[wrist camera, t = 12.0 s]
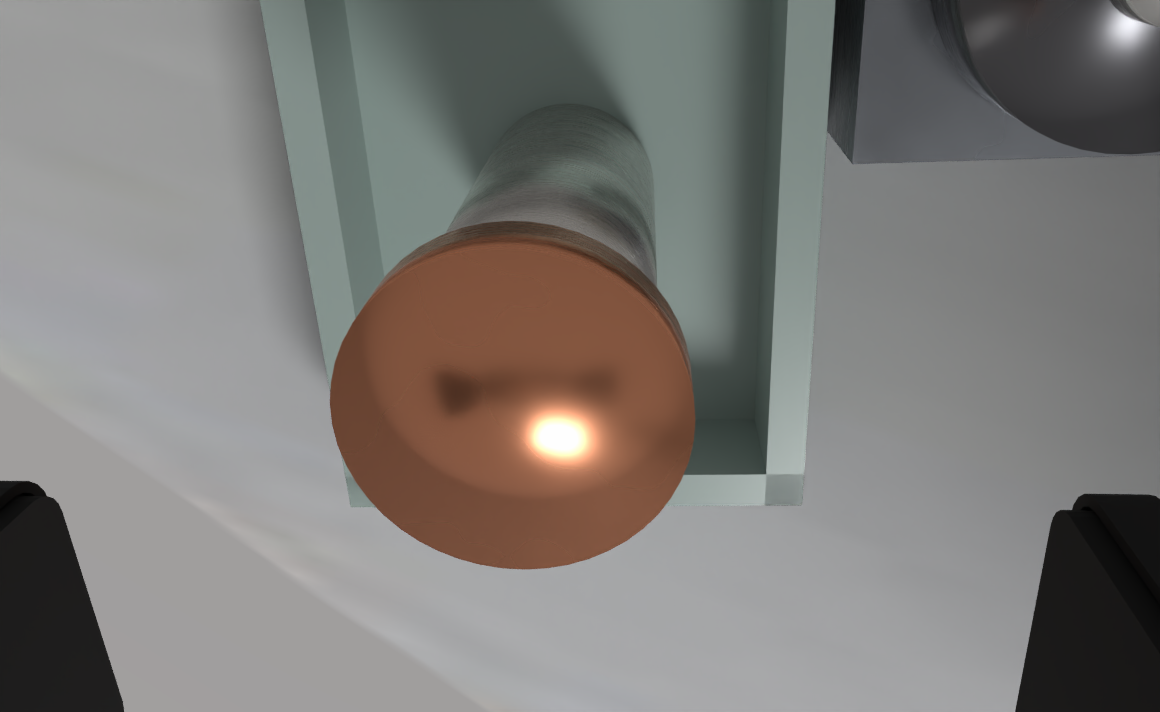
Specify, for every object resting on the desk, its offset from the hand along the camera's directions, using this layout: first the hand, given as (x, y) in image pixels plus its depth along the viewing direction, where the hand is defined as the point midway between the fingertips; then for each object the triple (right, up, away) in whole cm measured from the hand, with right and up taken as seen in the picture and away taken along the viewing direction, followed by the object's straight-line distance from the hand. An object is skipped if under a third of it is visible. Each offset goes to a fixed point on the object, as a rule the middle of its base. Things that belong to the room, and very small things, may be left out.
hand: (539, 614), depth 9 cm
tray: (0, +6, +12) cm, 13 cm away
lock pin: (0, +6, +11) cm, 13 cm away
